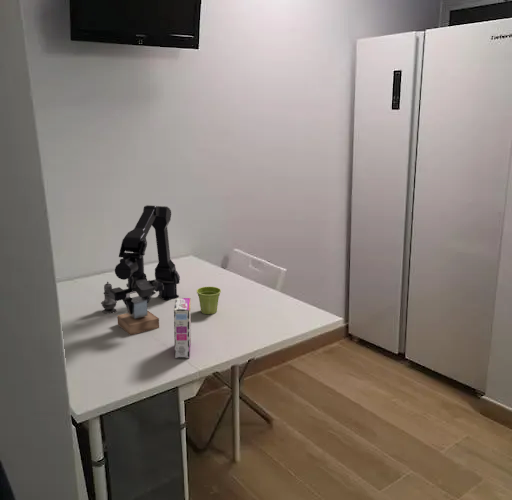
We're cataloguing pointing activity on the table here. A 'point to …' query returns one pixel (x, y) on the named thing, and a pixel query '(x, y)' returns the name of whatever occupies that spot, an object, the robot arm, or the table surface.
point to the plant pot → (208, 299)
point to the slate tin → (138, 307)
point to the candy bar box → (182, 327)
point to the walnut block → (138, 323)
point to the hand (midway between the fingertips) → (137, 312)
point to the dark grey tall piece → (108, 300)
